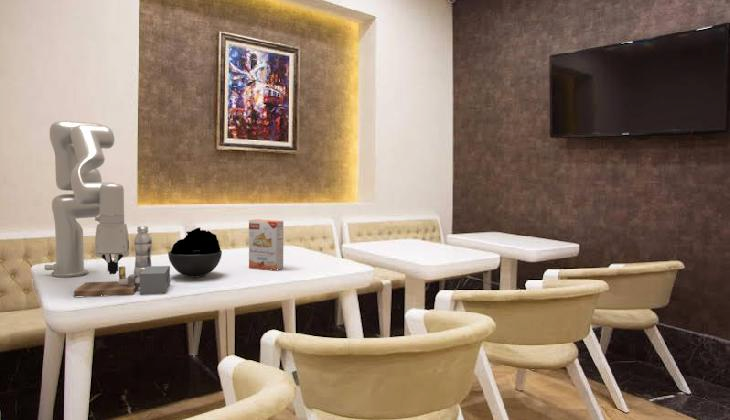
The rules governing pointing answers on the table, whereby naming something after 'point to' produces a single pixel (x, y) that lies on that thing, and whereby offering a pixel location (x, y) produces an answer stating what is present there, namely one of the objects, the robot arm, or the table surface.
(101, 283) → the brown wooden flat slab
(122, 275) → the bolt
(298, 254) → the table surface
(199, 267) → the bowl of black rocks
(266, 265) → the cracker box
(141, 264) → the plastic bottle
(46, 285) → the table surface
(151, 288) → the block
